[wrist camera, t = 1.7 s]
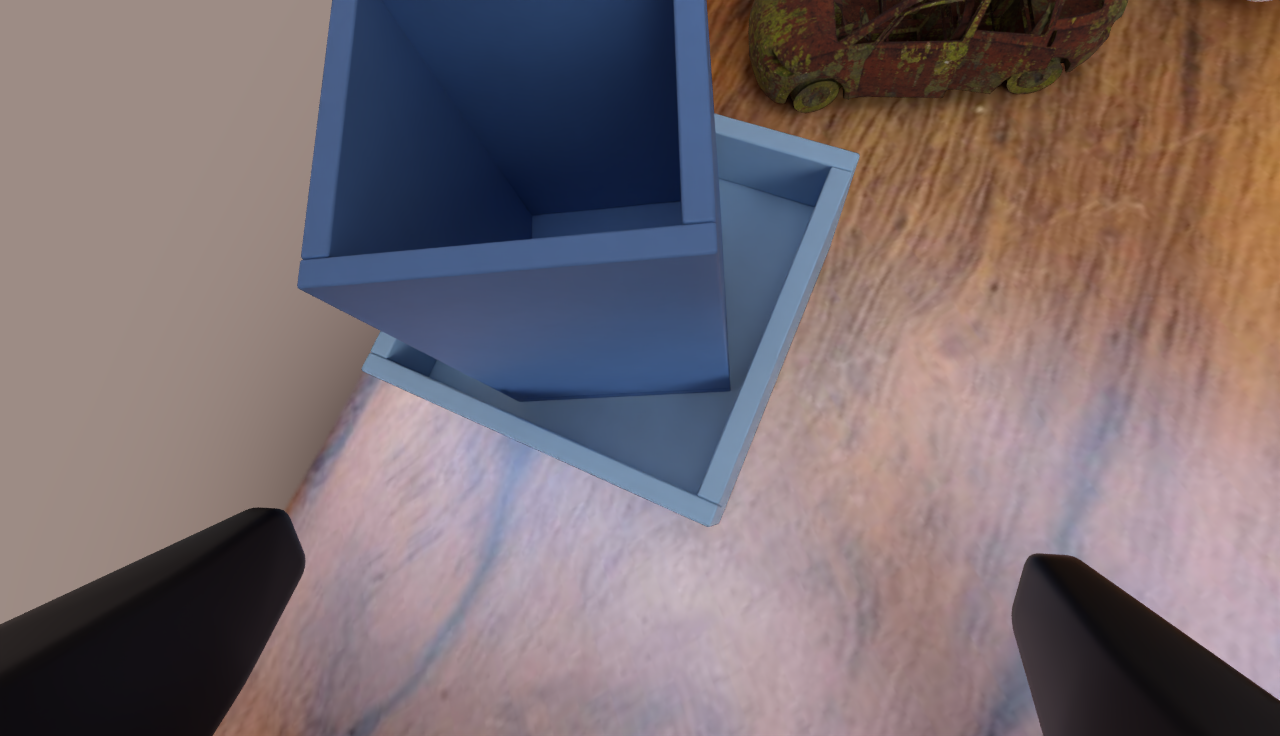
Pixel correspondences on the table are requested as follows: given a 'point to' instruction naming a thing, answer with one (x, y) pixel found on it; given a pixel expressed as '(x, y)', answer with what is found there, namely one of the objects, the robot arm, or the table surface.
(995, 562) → the table surface
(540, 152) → the upper bin
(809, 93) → the toy car
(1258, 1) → the lightbulb
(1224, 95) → the table surface
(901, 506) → the table surface
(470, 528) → the table surface
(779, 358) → the lower bin
